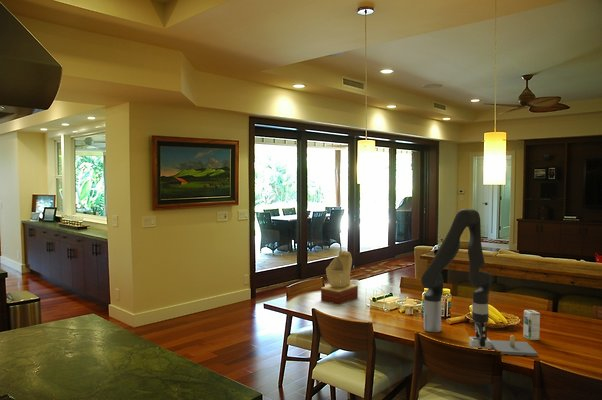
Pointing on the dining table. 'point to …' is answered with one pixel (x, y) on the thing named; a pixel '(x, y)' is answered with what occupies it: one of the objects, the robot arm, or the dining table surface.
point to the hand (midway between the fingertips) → (480, 343)
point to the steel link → (476, 342)
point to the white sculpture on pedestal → (340, 281)
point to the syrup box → (531, 324)
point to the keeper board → (513, 347)
